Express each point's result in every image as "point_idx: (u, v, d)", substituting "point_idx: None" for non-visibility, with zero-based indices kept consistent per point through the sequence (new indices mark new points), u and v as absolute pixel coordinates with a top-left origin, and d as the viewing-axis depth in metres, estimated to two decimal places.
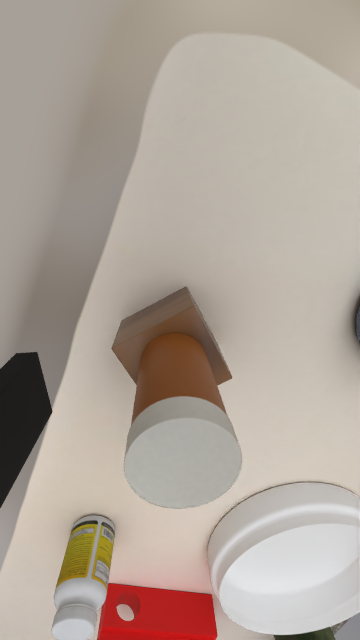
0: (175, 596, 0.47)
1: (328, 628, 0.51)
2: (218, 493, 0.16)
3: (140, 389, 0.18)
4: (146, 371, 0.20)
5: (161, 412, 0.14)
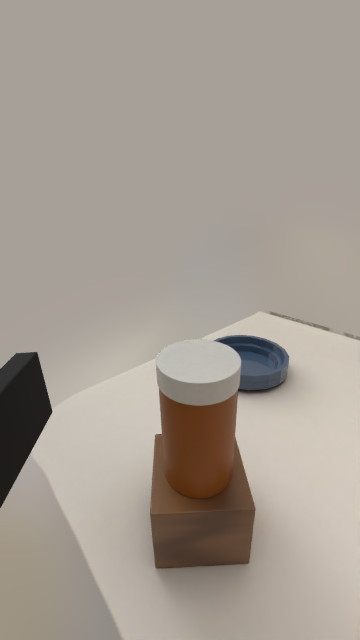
0: None
1: None
2: (233, 351, 0.21)
3: (164, 423, 0.21)
4: (162, 432, 0.22)
5: None
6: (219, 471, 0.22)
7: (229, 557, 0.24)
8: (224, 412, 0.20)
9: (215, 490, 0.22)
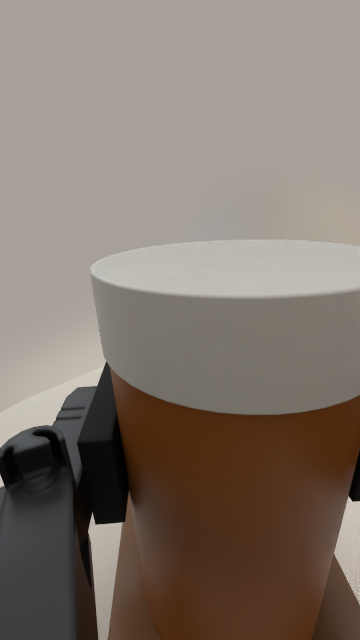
0: None
1: None
2: (336, 244, 0.07)
3: (131, 475, 0.07)
4: (130, 497, 0.08)
5: None
6: (308, 617, 0.07)
7: None
8: (353, 438, 0.05)
9: None
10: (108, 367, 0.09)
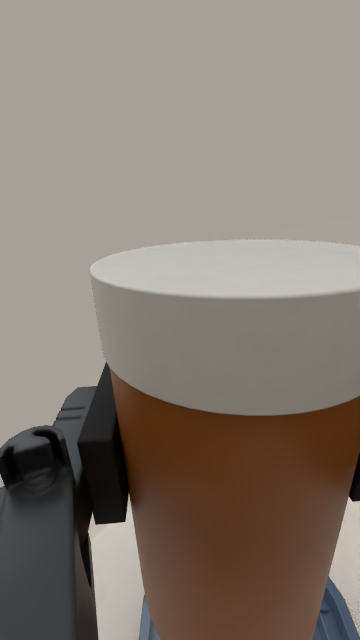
0: None
1: None
2: (336, 244, 0.07)
3: (131, 475, 0.07)
4: (130, 498, 0.08)
5: None
6: (307, 617, 0.07)
7: None
8: (354, 438, 0.05)
9: None
10: (108, 367, 0.09)
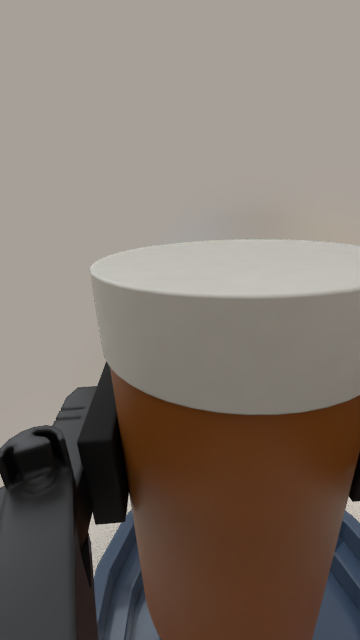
0: None
1: None
2: (336, 244, 0.07)
3: (131, 475, 0.07)
4: (130, 498, 0.08)
5: None
6: (308, 617, 0.07)
7: None
8: (354, 438, 0.05)
9: None
10: (108, 367, 0.09)
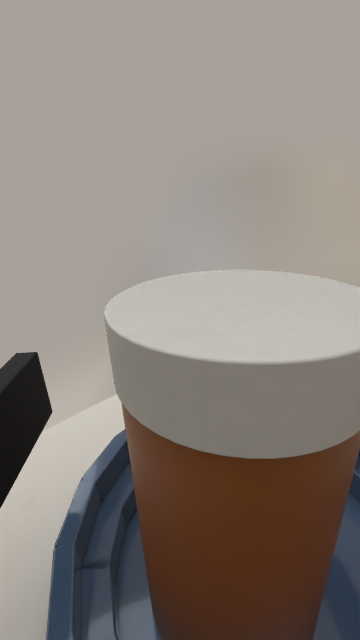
0: None
1: None
2: (331, 282, 0.08)
3: (140, 498, 0.07)
4: (139, 517, 0.08)
5: None
6: (304, 630, 0.07)
7: None
8: (345, 472, 0.05)
9: None
10: None
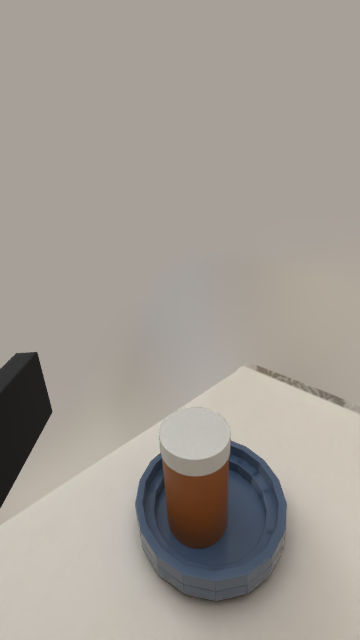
0: None
1: None
2: (223, 421, 0.25)
3: (167, 486, 0.25)
4: (166, 492, 0.26)
5: None
6: (215, 524, 0.25)
7: None
8: (217, 478, 0.23)
9: (213, 540, 0.26)
10: None
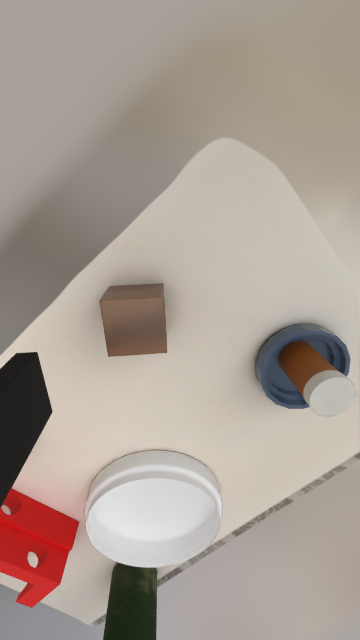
0: (50, 512, 0.57)
1: (155, 576, 0.65)
2: (335, 414, 0.38)
3: (307, 362, 0.40)
4: (306, 356, 0.42)
5: (336, 374, 0.37)
6: None
7: None
8: (302, 395, 0.40)
9: (280, 365, 0.47)
10: None
